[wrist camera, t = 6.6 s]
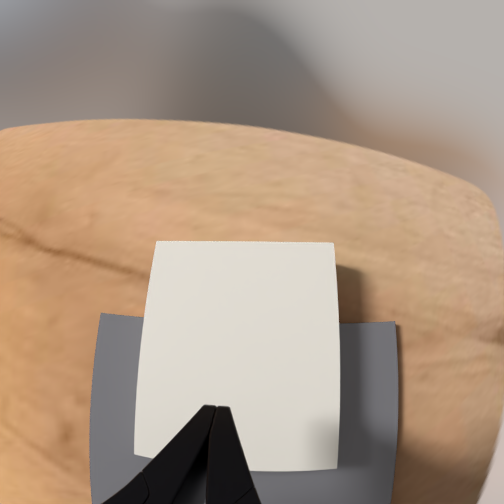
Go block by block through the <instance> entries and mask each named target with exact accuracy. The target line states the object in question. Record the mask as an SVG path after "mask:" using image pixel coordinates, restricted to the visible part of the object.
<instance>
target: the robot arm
mask: <svg viewBox="0 0 504 504" xmlns="http://www.w3.org/2000/svg"><path fill="white" fill-rule="evenodd" d="M205 499H206V501H205ZM204 503H205V504H262V503H261V501H260V499H259V496H258V493H257V490H256V488H255V485H254V482H253V479H252V476H251V473H250V470H249V467H248V464H247V461H246V458H245V455H244V451H243V448H242V445H241V442H240V439H239V435H238V432H237V429H236V426H235V422H234V419H233V415H232V412H231V409H230V407H229V406H216V405H207V404H205V405H203V406H202V407H201V408H200V409H199V410H198V412H197V413H196V414H195V415H194V416H193V417H192V418H191V419H190V420H189V421H188V422H187V424H186V425H185V426H184V427H183V428H182V429H181V430H180V431H179V432H178V433H177V434H176V435H175V436H174V437H173V439H172V440H171V441H170V442H169V443H168V444H167V445H166V446H165V447H164V448H163V449H162V450H161V451H160V452H159V453H158V454H157V455H156V456H155V457H154V458H153V459H152V460H151V461H150V462H149V463H148V464H147V465H146V466H145V467H144V468H143V469H142V472H139V473H138V474H137V475H136V476H135V477H134V478H133V479H132V480H131V481H130V482H129V483H128V484H127V485H125V486H124V487H123V488H122V489H121V490H119V491H118V492H117V493H115V494H114V495H113V496H111V497H110V498H109V499H107V500H106V501H104V502H103V503H101V504H204Z"/></svg>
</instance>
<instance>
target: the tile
mask: <svg viewBox="0 0 504 504" xmlns="http://www.w3.org/2000/svg"><path fill="white" fill-rule="evenodd" d="M205 404H207V405H216V406H229V407H230V409H231V412H232V415H233V419H234V422H235V426H236V429H237V432H238V435H239V439H240V442H241V445H242V448H243V451H244V455H245V458H246V461H247V464H248V467H249V470H250V471H311V470H326V469H337V461H338V444H339V420H340V338H339V312H338V293H337V278H336V265H335V253H334V243H316V242H238V241H157V242H156V247H155V252H154V258H153V263H152V269H151V275H150V281H149V287H148V294H147V300H146V307H145V314H144V322H143V330H142V338H141V347H140V357H139V368H138V379H137V393H136V409H135V433H134V454H135V455H139V456H144V457H148V458H154V457H155V456H156V455H157V454H158V453H159V452H160V451H161V450H162V449H163V448H164V447H165V446H166V445H167V444H168V443H169V442H170V441H171V440H172V439H173V437H174V436H175V435H176V434H177V433H178V432H179V431H180V430H181V429H182V428H183V427H184V426H185V425H186V424H187V422H188V421H189V420H190V419H191V418H192V417H193V416H194V415H195V414H196V413H197V412H198V410H199V409H200V408H201V407H202V406H203V405H205Z"/></svg>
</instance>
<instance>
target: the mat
mask: <svg viewBox="0 0 504 504" xmlns="http://www.w3.org/2000/svg"><path fill="white" fill-rule="evenodd" d="M143 322H144V317H134V316H124V315H115V314H106V313H101V315H100V322H99V328H98V335H97V343H96V350H95V359H94V368H93V379H92V391H91V408H90V482H91V497H92V504H101V503H103V502H104V501H106V500H107V499H109V498H110V497H111V496H113V495H114V494H115V493H117V492H118V491H119V490H121V489H122V488H123V487H124V486H125V485H127V484H128V483H129V482H130V481H131V480H132V479H133V478H134V477H135V476H136V475H137V474H138V473H139V472H142V469H143V468H144V467H145V466H146V465H147V464H148V463H149V462H150V461H151V460H152V459H153V458H148V457H144V456H139V455H135V454H134V433H135V409H136V393H137V379H138V368H139V357H140V347H141V338H142V330H143ZM339 338H340V420H339V444H338V461H337V469H326V470H311V471H250V473H251V476H252V479H253V482H254V485H255V488H256V490H257V493H258V496H259V499H260V501H261V503H262V504H391V497H392V490H393V482H394V473H395V462H396V449H397V432H398V359H397V341H396V327H395V321H391V322H372V323H345V324H339ZM205 501H206V499H205ZM204 504H205V503H204Z"/></svg>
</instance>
